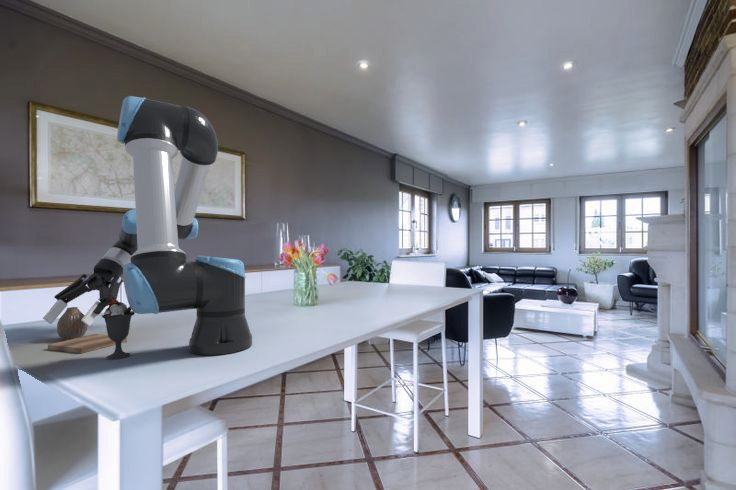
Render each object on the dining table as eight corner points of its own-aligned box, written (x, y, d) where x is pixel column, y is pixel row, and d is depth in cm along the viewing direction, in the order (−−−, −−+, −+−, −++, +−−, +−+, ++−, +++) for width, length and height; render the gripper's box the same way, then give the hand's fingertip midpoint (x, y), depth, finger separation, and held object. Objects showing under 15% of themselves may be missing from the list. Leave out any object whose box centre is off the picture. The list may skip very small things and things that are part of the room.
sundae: (96, 357, 90) (96, 293, 90) (128, 350, 95) (127, 290, 95) (107, 362, 86) (106, 295, 86) (139, 355, 91) (139, 292, 91)
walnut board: (126, 341, 105) (126, 337, 105) (81, 353, 93) (81, 348, 93) (94, 338, 108) (94, 334, 108) (47, 349, 97) (47, 344, 97)
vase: (71, 342, 104) (70, 310, 104) (50, 341, 106) (50, 309, 106) (93, 336, 111) (93, 306, 111) (74, 335, 112) (73, 305, 112)
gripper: (152, 273, 121) (110, 331, 106) (89, 272, 127) (41, 327, 112) (138, 257, 116) (92, 316, 101) (73, 257, 122) (21, 312, 107)
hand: (65, 322), depth 107 cm, fingers open, 13 cm apart
